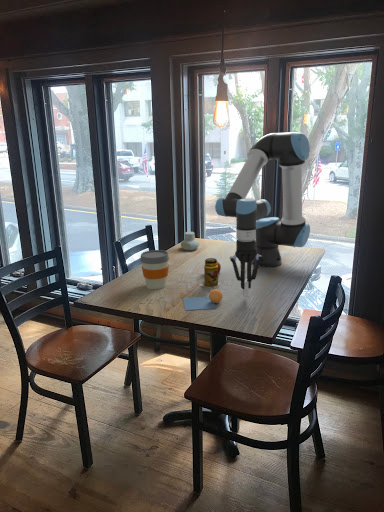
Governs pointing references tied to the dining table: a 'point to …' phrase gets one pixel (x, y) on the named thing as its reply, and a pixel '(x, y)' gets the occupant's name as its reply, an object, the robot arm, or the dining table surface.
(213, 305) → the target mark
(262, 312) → the dining table surface
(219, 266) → the fruit
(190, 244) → the air freshener
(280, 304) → the dining table surface
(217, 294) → the ball
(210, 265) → the condiment
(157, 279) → the reusable coffee cup
